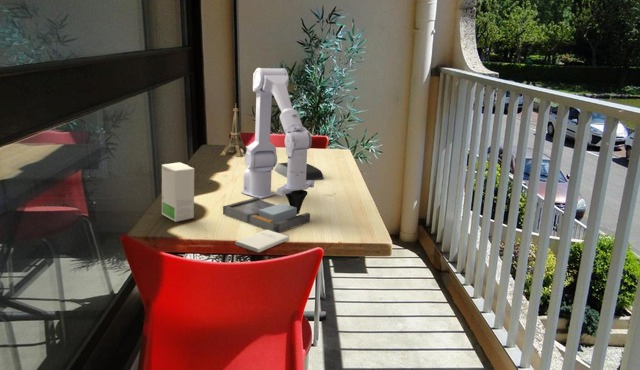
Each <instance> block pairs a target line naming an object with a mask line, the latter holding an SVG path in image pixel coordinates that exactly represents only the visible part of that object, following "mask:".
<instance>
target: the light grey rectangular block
mask: <svg viewBox="0 0 640 370" xmlns="http://www.w3.org/2000/svg"><path fill="white" fill-rule="evenodd" d="M259 216H261V217H264V218H267V219H270V220H273V222H276V223H277V222H280V221H283V220H286V219H289V218H292V217H295V216H298V214H297V208H296V207H293V206H290V204H287V203H279V204H275V205H274V206H271V207H267V208H264V209H260V210H259Z"/></svg>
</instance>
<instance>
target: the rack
mask: <svg viewBox="0 0 640 370" xmlns="http://www.w3.org/2000/svg"><path fill="white" fill-rule="evenodd" d="M274 205H276V204H275V203H271V202H268V201H264V200H262V199H260V198H259V197H252V198H250V199H245V200H241V201H237V202H234V203H230V204H226V205H224V206H222V215H224V214H225V215H224V216H227V217H229V218H233V219H235V218H236V220H238V219H239V220H238V221H241V222H244V223H247V224H250V225H252V226H255V227H258V228H260V227H261V229H263V230H270V231H273V232H277V233H281V232H284V231H287V230H289V229H292V228H295V227H299V226H302V225H304V224H306V223H309V222H311V213H310V212H305V213H303V214H297V216H295V217H292V218H289V219H286V220H283V221H280V222H277V223H276V222H273V220H270V219H267V218H264V217H261V216H259V210H260V209H264V208H267V207H271V206H274Z"/></svg>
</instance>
